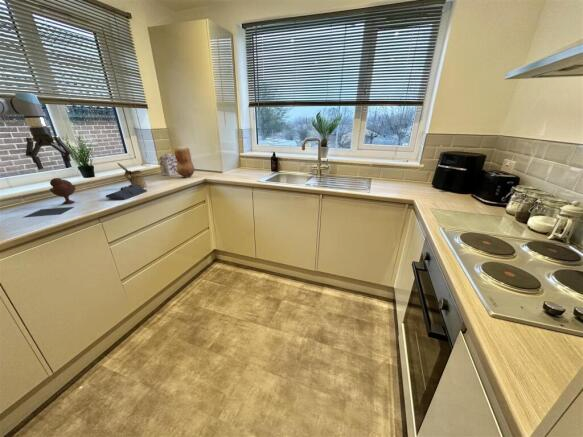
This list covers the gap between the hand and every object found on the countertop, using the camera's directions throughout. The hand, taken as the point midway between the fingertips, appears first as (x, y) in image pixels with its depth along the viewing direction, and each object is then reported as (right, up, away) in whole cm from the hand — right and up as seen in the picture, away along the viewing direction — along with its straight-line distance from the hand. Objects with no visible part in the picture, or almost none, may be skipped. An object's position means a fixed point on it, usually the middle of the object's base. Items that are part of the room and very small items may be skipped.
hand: (55, 168), depth 131 cm
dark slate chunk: (+25, -13, +21) cm, 35 cm away
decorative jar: (+24, +11, +80) cm, 84 cm away
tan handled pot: (+19, -6, +39) cm, 44 cm away
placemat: (+4, -25, -7) cm, 26 cm away
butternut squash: (+43, +7, +68) cm, 81 cm away
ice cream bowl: (0, -19, +8) cm, 20 cm away
